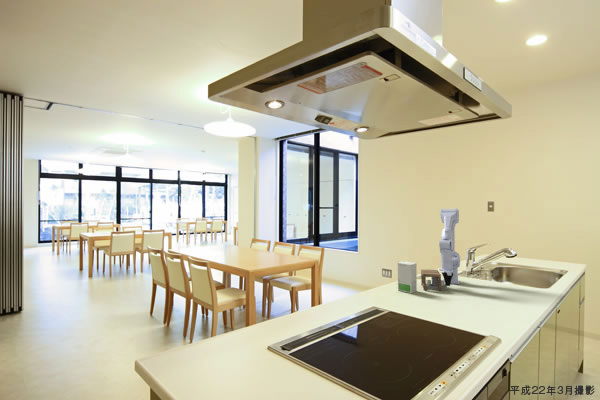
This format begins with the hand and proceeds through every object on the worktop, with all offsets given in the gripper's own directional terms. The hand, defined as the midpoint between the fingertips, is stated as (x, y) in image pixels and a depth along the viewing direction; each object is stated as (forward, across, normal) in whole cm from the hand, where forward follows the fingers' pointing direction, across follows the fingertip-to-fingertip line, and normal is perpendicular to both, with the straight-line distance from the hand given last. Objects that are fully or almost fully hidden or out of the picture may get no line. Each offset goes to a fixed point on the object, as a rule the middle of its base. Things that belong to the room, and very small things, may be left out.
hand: (447, 285), depth 176 cm
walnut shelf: (+2, 0, -9) cm, 9 cm away
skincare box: (+2, +8, -22) cm, 23 cm away
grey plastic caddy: (+2, 0, -7) cm, 7 cm away
